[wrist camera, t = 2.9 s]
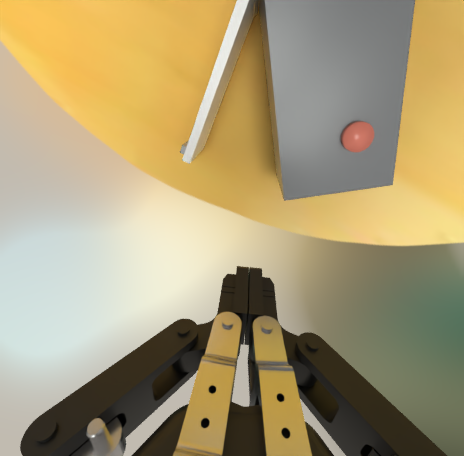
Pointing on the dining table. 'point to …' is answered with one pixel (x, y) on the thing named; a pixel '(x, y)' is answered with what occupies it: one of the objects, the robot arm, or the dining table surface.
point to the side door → (220, 76)
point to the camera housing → (335, 91)
